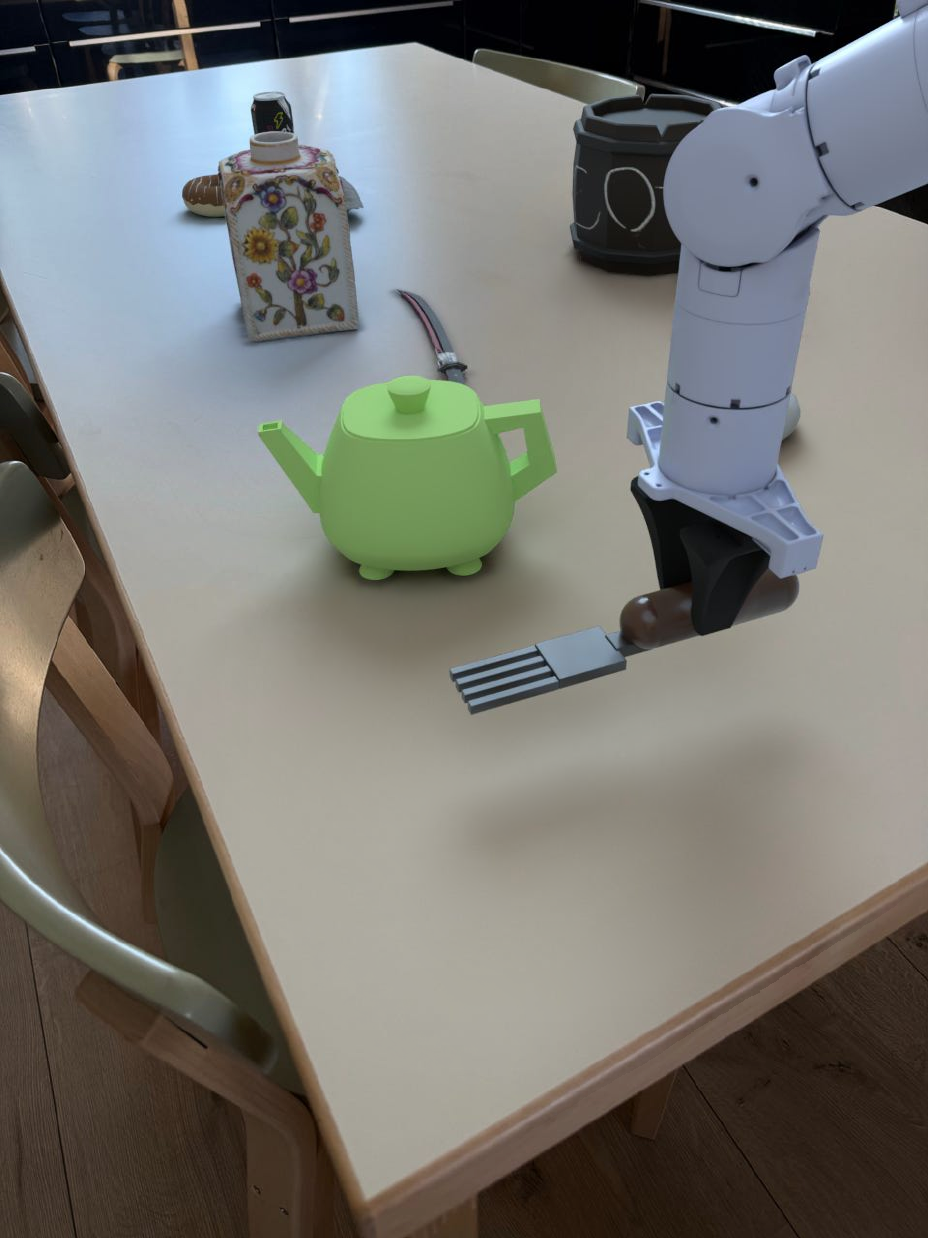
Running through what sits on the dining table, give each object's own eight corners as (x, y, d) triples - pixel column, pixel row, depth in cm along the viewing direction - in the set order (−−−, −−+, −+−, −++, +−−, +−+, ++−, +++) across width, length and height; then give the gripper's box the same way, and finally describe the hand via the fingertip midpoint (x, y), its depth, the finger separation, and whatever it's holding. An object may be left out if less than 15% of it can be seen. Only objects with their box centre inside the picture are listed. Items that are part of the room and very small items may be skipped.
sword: (486, 405, 88) (486, 392, 87) (453, 409, 87) (452, 396, 87) (422, 294, 112) (422, 283, 111) (396, 297, 111) (395, 286, 111)
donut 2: (169, 215, 136) (162, 184, 134) (219, 194, 143) (214, 165, 141) (228, 224, 132) (223, 193, 129) (277, 203, 139) (273, 173, 137)
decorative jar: (240, 303, 110) (209, 127, 98) (343, 291, 112) (324, 117, 100) (248, 345, 101) (215, 156, 89) (361, 331, 103) (342, 144, 91)
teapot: (270, 605, 67) (238, 439, 59) (290, 500, 77) (264, 347, 69) (565, 591, 67) (572, 423, 59) (544, 488, 77) (548, 334, 69)
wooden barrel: (676, 291, 108) (692, 136, 98) (540, 261, 117) (543, 116, 107) (746, 244, 119) (767, 101, 109) (617, 220, 128) (626, 85, 118)
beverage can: (307, 179, 148) (296, 90, 140) (288, 190, 144) (275, 99, 136) (274, 176, 150) (262, 89, 142) (254, 187, 146) (240, 97, 138)
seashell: (296, 206, 137) (291, 168, 134) (354, 200, 139) (351, 162, 136) (305, 233, 128) (300, 192, 125) (368, 226, 130) (365, 186, 126)
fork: (773, 586, 58) (781, 544, 56) (806, 617, 56) (816, 575, 54) (449, 677, 53) (447, 634, 51) (470, 715, 51) (469, 672, 49)
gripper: (582, 339, 50) (572, 556, 59) (743, 472, 40) (702, 713, 48) (702, 316, 52) (675, 530, 61) (886, 437, 42) (823, 675, 50)
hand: (695, 609), depth 55 cm, fingers closed on fork, 3 cm apart
